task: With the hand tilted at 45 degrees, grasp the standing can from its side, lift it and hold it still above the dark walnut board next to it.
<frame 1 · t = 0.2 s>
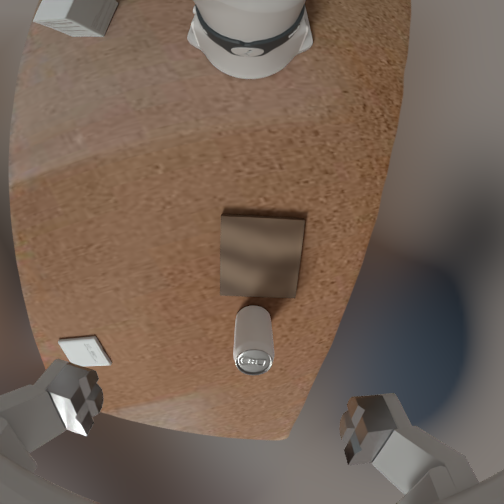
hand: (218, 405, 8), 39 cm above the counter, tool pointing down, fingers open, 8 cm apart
can: (253, 318, 54), on the counter
walnut board: (260, 256, 49), on the counter
external hard drive: (85, 349, 59), on the counter
supplement box: (95, 20, 32), on the counter
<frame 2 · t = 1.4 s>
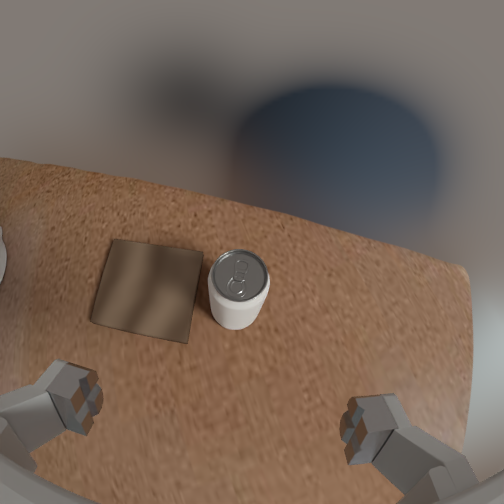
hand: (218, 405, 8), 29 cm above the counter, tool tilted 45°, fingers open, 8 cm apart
can: (234, 307, 40), on the counter
walnut board: (147, 289, 39), on the counter
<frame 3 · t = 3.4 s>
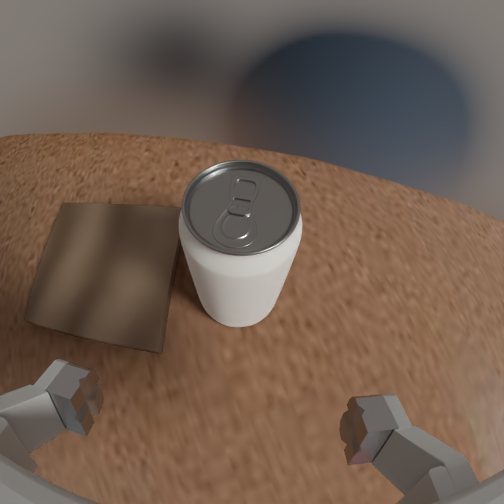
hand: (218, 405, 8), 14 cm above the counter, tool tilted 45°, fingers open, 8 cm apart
can: (238, 291, 24), on the counter
walnut board: (102, 270, 24), on the counter
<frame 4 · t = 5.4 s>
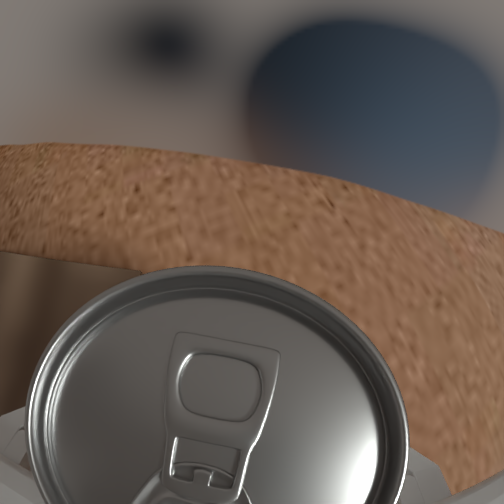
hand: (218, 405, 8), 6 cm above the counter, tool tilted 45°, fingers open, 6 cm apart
can: (227, 413, 14), on the counter, touching gripper
walnut board: (33, 359, 13), on the counter
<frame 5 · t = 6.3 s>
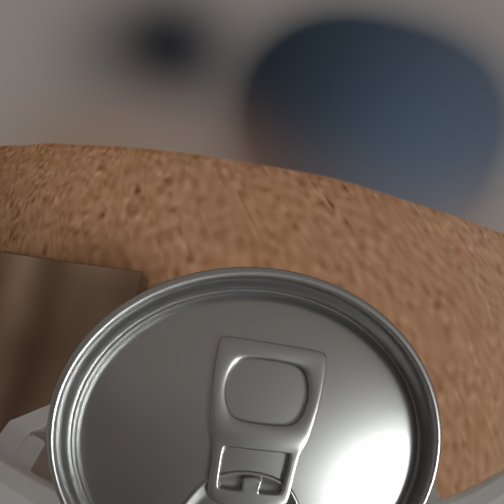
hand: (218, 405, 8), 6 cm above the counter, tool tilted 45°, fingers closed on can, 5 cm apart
can: (227, 414, 13), on the counter, touching gripper
walnut board: (34, 359, 14), on the counter
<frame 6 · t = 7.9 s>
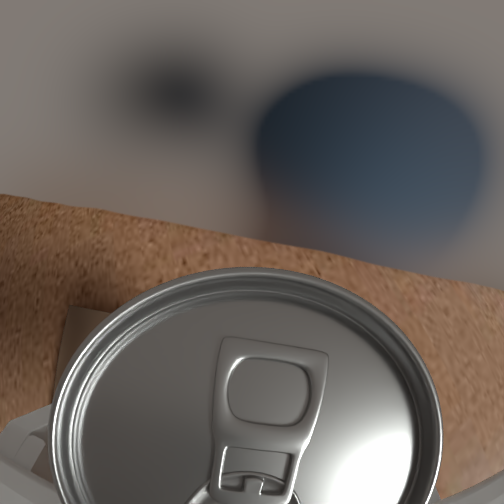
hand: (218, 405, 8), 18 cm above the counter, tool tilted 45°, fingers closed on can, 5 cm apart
can: (228, 414, 13), point 11 cm above the counter, touching gripper
walnut board: (120, 382, 24), on the counter
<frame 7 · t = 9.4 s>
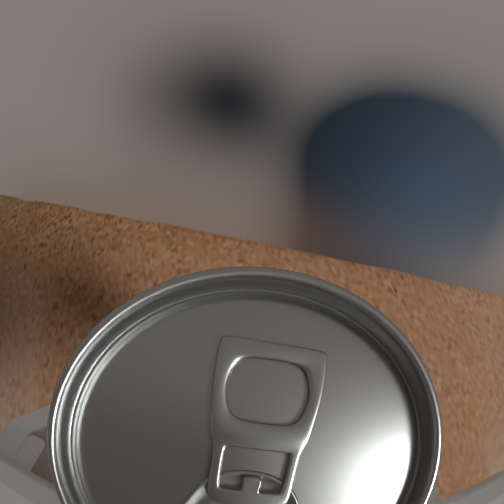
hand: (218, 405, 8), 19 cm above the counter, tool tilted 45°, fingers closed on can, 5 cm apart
can: (227, 415, 13), point 13 cm above the counter, touching gripper
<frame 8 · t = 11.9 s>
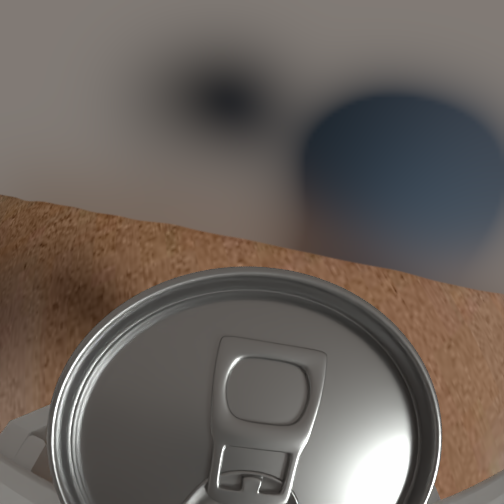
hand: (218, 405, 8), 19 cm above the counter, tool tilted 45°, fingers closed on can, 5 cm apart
can: (227, 415, 13), point 13 cm above the counter, touching gripper
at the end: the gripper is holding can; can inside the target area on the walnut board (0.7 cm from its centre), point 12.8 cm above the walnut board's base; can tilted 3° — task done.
